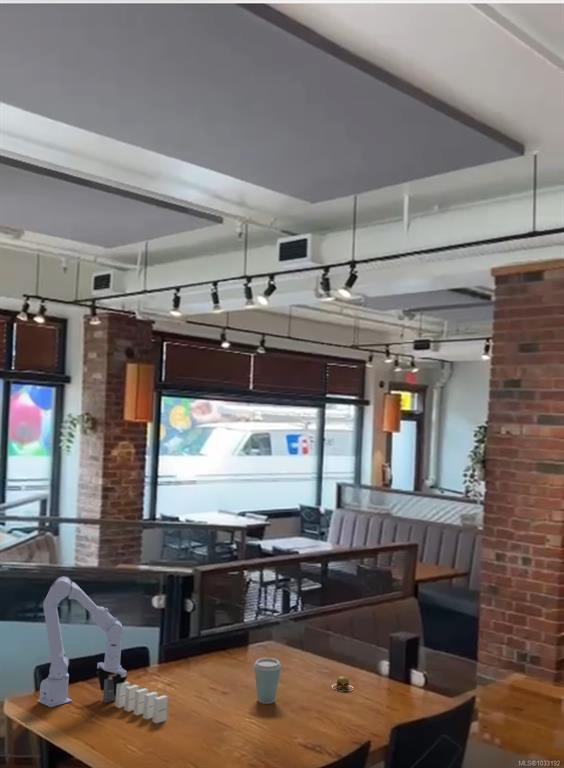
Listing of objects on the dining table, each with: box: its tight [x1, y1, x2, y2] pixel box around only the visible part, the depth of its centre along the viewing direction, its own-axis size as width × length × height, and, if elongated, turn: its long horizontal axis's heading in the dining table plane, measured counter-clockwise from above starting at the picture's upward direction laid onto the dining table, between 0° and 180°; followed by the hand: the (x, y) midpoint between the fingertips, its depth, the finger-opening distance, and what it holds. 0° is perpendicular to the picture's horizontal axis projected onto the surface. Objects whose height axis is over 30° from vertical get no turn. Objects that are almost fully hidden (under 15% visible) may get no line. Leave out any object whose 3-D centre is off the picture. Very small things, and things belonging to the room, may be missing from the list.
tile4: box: [133, 687, 149, 716], centre depth 272 cm, size 4×2×8 cm, turn 142°
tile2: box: [114, 680, 131, 709], centre depth 278 cm, size 4×2×8 cm, turn 142°
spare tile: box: [102, 676, 116, 704], centre depth 282 cm, size 4×2×8 cm, turn 142°
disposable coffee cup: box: [253, 657, 282, 705], centre depth 292 cm, size 11×11×15 cm
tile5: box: [142, 691, 159, 720], centre depth 269 cm, size 4×2×8 cm, turn 142°
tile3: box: [123, 684, 140, 712], centre depth 275 cm, size 4×2×8 cm, turn 142°
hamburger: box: [331, 675, 354, 692], centre depth 312 cm, size 12×12×6 cm
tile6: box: [152, 694, 169, 724], centre depth 265 cm, size 4×2×8 cm, turn 142°
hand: (110, 692), depth 282 cm, fingers open, 7 cm apart
